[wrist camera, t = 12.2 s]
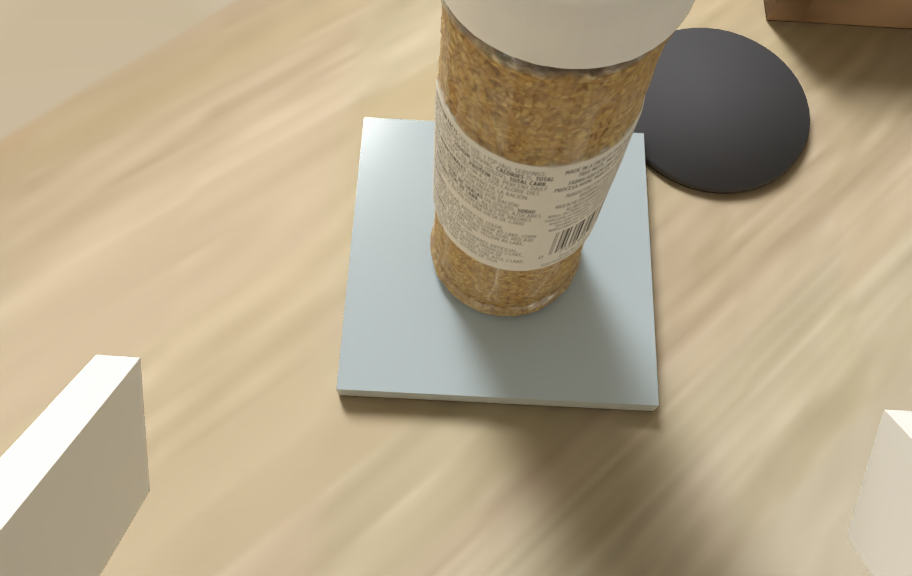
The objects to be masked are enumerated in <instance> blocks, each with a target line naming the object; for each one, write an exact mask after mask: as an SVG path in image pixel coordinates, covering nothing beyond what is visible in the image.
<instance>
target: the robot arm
mask: <svg viewBox="0 0 912 576" xmlns="http://www.w3.org/2000/svg"><path fill="white" fill-rule="evenodd" d="M149 491H150V486H149V472H148V458H147V444H146V430H145V417H144V403H143V389H142V375H141V361H140V358H137V357H122V356H108V355H95V356H94V357H93V359H92V360H91V361H90V362H89V363H88V364H87V365H86V366H85V367H84V368H83V369H82V370H81V371H80V373H79V374H78V375H77V376H76V377H75V378H74V379H73V380H72V381H71V382H70V383H69V384H68V385H67V387H66V388H65V389H64V390H63V391H62V392H61V393H60V394H59V395H58V396H57V397H56V398H55V399H54V401H53V402H52V403H51V404H50V405H49V406H48V407H47V408H46V409H45V410H44V411H43V412H42V413H41V415H40V416H39V417H38V418H37V419H36V420H35V421H34V422H33V423H32V424H31V425H30V426H29V427H28V429H27V430H26V431H25V432H24V433H23V434H22V435H21V436H20V437H19V438H18V439H17V440H16V441H15V443H14V444H13V445H12V446H11V447H10V448H9V449H8V450H7V451H6V452H5V453H4V454H3V455H2V457H1V458H0V576H100V574H101V572H102V571H103V569H104V567H105V566H106V564H107V562H108V561H109V559H110V557H111V555H112V554H113V552H114V550H115V549H116V547H117V545H118V544H119V542H120V540H121V539H122V537H123V535H124V533H125V532H126V530H127V528H128V527H129V525H130V523H131V522H132V520H133V518H134V517H135V515H136V513H137V511H138V510H139V508H140V506H141V505H142V503H143V501H144V500H145V498H146V496H147V494H148V493H149ZM846 537H847V539H848V540H849V542H850V543H851V545H852V546H853V548H854V549H855V551H856V552H857V554H858V555H859V557H860V558H861V560H862V562H863V563H864V565H865V566H866V568H867V569H868V571H869V572H870V574H871V575H872V576H912V411H900V410H886V409H884V411H883V415H882V418H881V421H880V425H879V428H878V431H877V435H876V438H875V442H874V445H873V448H872V452H871V455H870V458H869V462H868V465H867V468H866V472H865V475H864V479H863V482H862V485H861V489H860V492H859V495H858V499H857V502H856V505H855V509H854V512H853V515H852V519H851V522H850V526H849V529H848V532H847V536H846Z"/></svg>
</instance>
